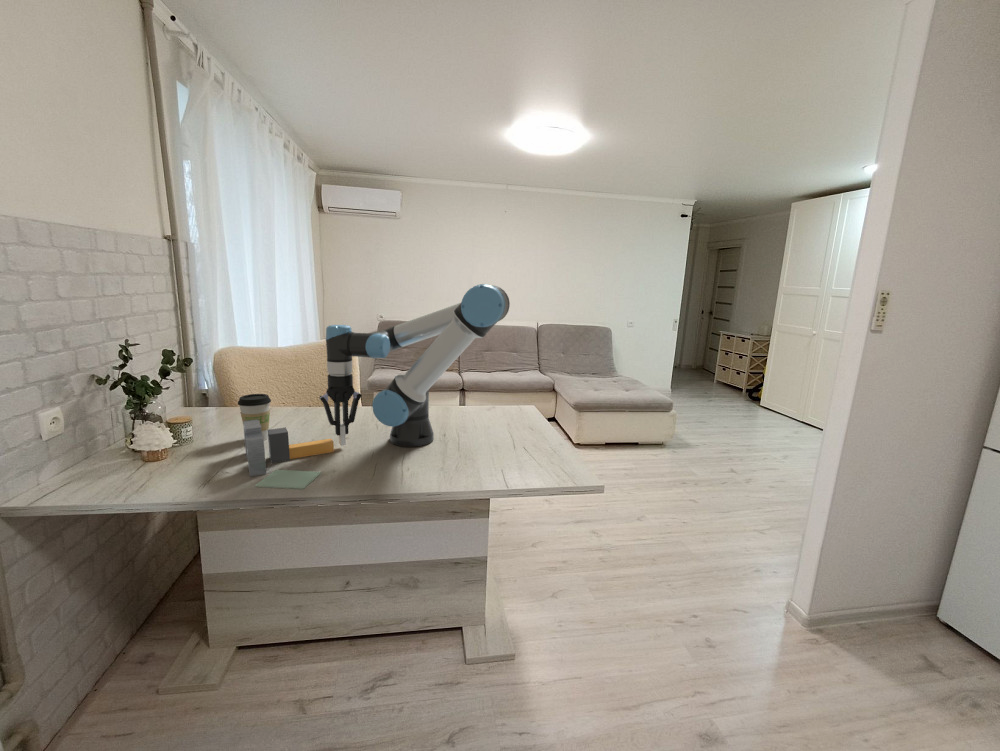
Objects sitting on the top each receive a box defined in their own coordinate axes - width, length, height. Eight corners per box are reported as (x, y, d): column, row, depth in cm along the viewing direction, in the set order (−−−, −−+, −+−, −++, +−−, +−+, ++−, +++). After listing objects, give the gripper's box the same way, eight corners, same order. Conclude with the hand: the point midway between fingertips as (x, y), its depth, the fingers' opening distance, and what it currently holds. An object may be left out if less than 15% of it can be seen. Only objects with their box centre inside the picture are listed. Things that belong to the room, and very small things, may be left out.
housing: (260, 450, 137) (257, 414, 135) (266, 473, 121) (263, 433, 118) (245, 452, 135) (242, 416, 133) (249, 476, 119) (246, 435, 116)
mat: (320, 473, 122) (320, 471, 122) (303, 489, 112) (303, 487, 112) (275, 471, 123) (275, 469, 123) (255, 486, 113) (255, 485, 113)
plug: (331, 447, 142) (329, 421, 140) (334, 452, 138) (333, 425, 136) (269, 457, 132) (267, 429, 130) (271, 463, 128) (269, 434, 126)
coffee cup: (259, 445, 142) (255, 401, 139) (233, 442, 143) (229, 399, 140) (280, 435, 151) (277, 394, 148) (255, 433, 153) (252, 392, 150)
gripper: (357, 370, 143) (359, 437, 148) (316, 373, 136) (319, 443, 141) (364, 374, 137) (365, 444, 142) (320, 377, 130) (323, 451, 135)
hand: (342, 443), depth 141 cm, fingers closed
